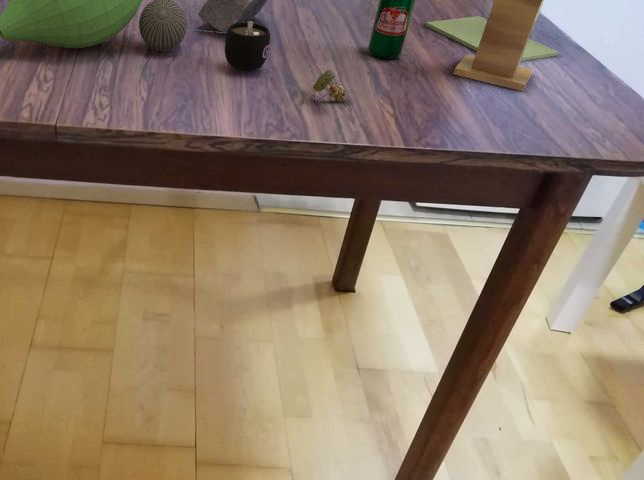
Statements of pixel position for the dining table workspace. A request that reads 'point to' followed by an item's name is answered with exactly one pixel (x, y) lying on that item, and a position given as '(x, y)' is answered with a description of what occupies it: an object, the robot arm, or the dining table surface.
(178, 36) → the lollipop
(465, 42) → the mat
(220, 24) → the rock
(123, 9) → the balloon
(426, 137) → the dining table surface
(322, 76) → the soldier figurine
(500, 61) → the stand
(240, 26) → the mug
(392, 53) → the soda can
